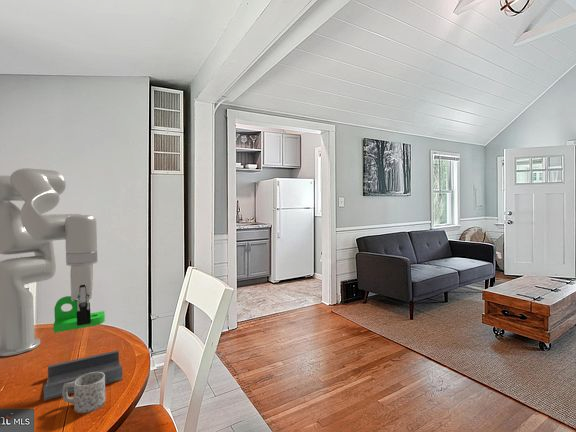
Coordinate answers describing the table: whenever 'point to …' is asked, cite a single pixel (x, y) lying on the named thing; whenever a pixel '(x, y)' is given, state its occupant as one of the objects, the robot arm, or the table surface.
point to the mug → (86, 392)
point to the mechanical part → (72, 316)
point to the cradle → (81, 372)
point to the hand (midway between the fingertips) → (83, 319)
